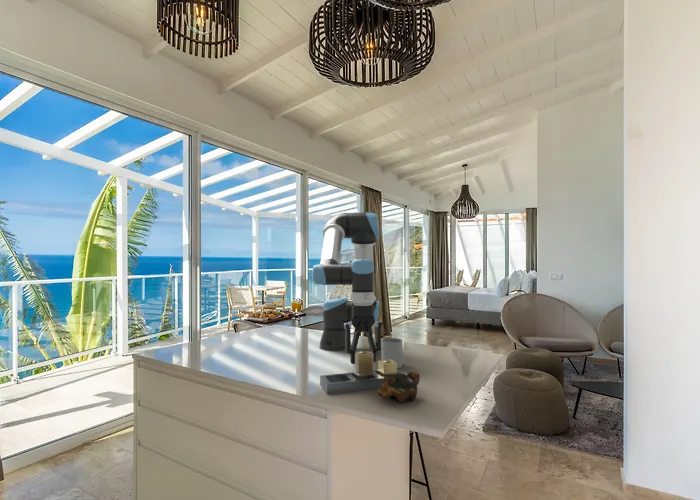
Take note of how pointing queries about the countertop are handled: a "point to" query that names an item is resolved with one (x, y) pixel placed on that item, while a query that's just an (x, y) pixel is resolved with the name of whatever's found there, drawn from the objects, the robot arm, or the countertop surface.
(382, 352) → the cup
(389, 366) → the beige framed knobbed block
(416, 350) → the countertop surface
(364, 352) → the cube with silver knob
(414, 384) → the decorative turtle
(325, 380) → the rack
